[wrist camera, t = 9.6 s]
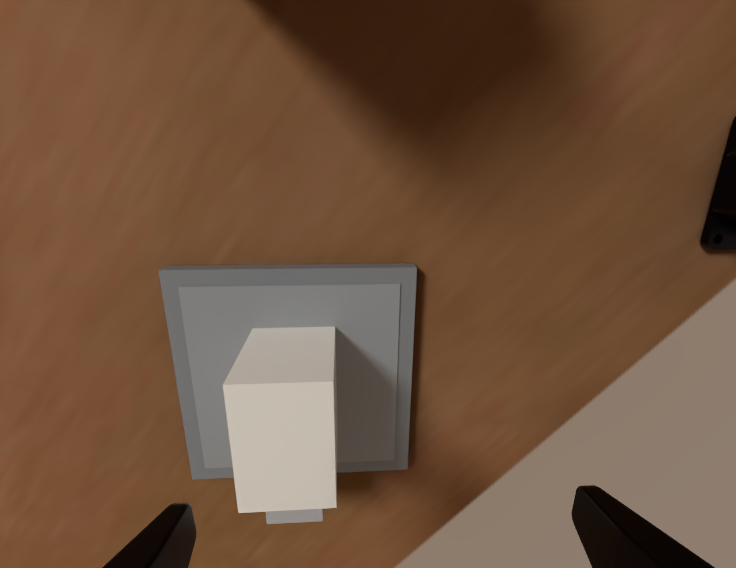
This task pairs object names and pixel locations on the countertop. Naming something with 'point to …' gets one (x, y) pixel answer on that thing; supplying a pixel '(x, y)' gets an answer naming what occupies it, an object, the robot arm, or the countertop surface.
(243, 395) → the connector
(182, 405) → the plate
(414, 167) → the countertop surface
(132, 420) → the countertop surface
